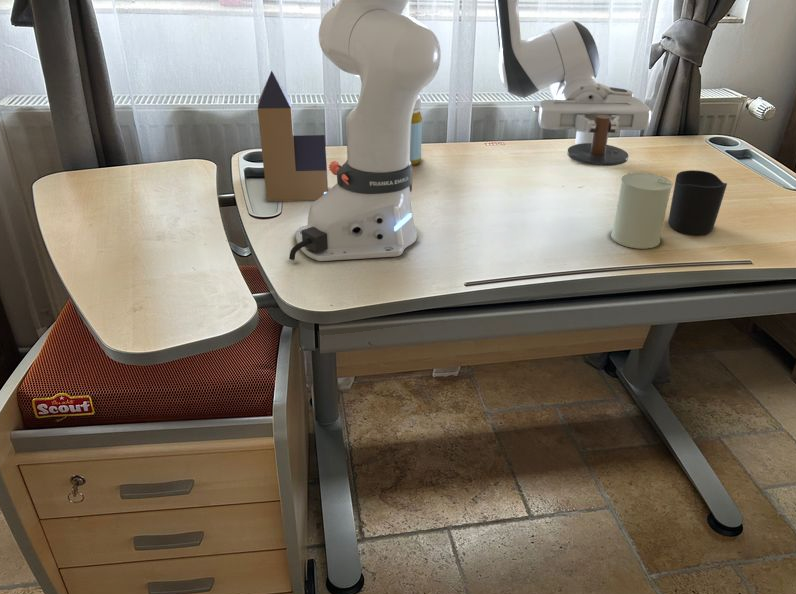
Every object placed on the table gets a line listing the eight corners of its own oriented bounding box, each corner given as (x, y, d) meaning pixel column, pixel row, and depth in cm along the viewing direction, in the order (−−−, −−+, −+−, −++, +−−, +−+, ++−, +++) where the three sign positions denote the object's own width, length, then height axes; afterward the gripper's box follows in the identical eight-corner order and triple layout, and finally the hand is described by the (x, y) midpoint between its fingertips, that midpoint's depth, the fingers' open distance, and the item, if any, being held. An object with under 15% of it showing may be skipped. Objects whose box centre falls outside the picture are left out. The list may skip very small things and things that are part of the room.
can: (661, 251, 133) (675, 189, 127) (610, 245, 135) (622, 184, 128) (658, 231, 141) (671, 172, 134) (610, 226, 142) (621, 167, 136)
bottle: (425, 164, 169) (426, 99, 161) (397, 167, 167) (397, 101, 159) (414, 155, 175) (416, 91, 166) (387, 157, 172) (387, 93, 164)
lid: (588, 169, 123) (594, 128, 119) (555, 149, 131) (560, 110, 127) (640, 162, 127) (647, 122, 123) (605, 143, 135) (611, 105, 131)
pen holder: (719, 224, 145) (732, 176, 139) (708, 240, 138) (721, 191, 133) (672, 214, 149) (683, 167, 143) (660, 229, 142) (670, 180, 136)
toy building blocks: (267, 201, 147) (254, 74, 134) (269, 170, 163) (257, 53, 149) (328, 199, 149) (321, 74, 136) (324, 168, 165) (318, 53, 151)
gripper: (532, 88, 134) (546, 109, 123) (639, 90, 136) (663, 110, 124) (529, 122, 138) (542, 145, 126) (633, 123, 139) (656, 146, 128)
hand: (603, 128), depth 125 cm, fingers closed on lid, 2 cm apart
